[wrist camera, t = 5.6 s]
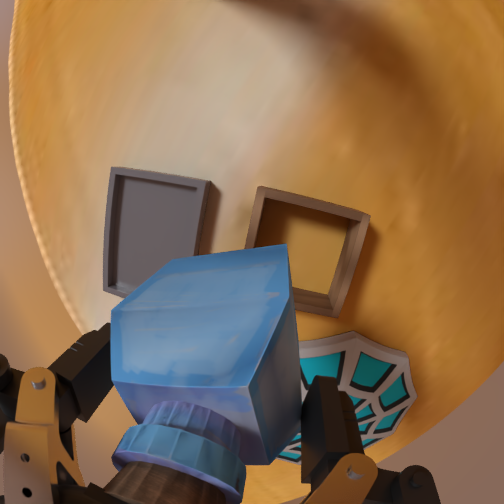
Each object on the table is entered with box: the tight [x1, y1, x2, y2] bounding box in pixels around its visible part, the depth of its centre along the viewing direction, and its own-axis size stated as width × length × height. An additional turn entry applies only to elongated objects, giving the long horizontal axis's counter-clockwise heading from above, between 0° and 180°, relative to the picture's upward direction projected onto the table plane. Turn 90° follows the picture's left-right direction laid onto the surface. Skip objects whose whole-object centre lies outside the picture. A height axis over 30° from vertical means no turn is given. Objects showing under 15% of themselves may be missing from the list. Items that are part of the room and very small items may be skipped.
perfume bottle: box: [103, 244, 302, 504], centre depth 9 cm, size 6×6×12 cm
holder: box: [244, 186, 371, 318], centre depth 28 cm, size 11×11×4 cm
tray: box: [103, 167, 211, 298], centre depth 31 cm, size 16×12×2 cm
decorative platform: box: [275, 331, 418, 465], centre depth 34 cm, size 31×29×5 cm
